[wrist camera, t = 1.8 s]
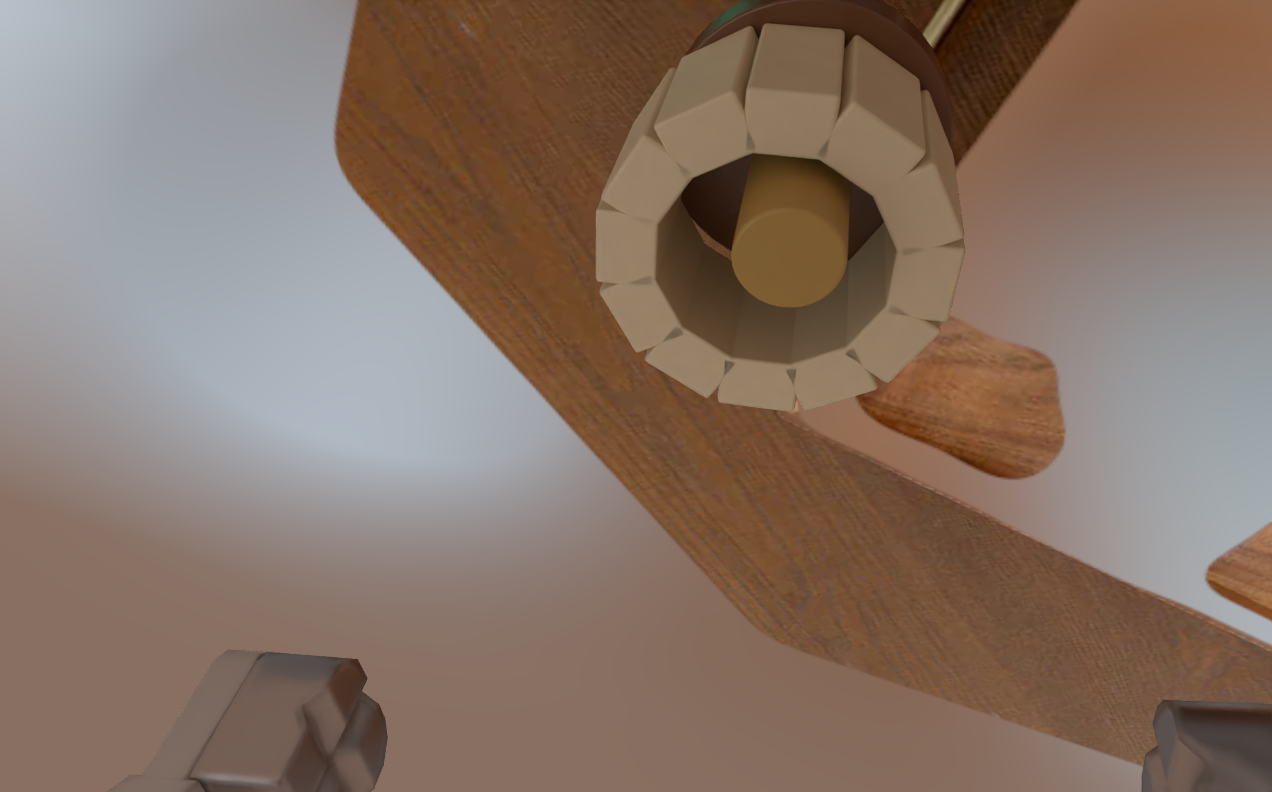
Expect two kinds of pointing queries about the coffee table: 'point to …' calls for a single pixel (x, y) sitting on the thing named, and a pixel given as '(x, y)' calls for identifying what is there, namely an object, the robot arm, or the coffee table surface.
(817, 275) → the stand
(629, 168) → the tan segmented ring
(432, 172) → the coffee table surface
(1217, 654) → the coffee table surface
